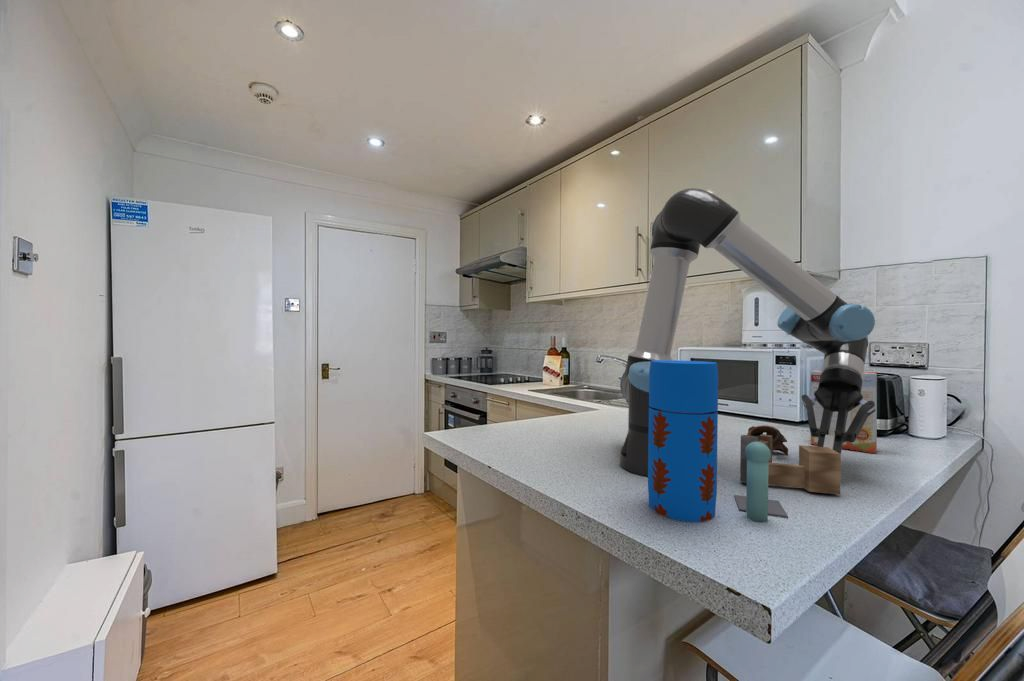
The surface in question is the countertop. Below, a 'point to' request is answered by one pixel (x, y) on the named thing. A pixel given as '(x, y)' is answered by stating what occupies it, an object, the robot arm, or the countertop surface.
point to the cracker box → (852, 415)
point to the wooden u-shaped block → (801, 469)
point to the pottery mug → (770, 430)
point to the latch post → (757, 481)
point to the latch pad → (773, 506)
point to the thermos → (683, 439)
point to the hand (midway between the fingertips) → (826, 465)
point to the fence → (767, 443)
